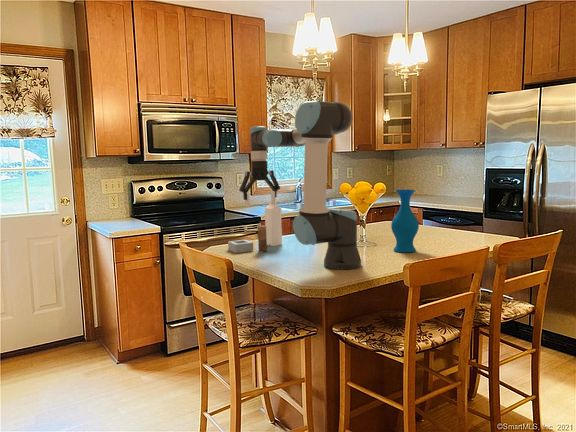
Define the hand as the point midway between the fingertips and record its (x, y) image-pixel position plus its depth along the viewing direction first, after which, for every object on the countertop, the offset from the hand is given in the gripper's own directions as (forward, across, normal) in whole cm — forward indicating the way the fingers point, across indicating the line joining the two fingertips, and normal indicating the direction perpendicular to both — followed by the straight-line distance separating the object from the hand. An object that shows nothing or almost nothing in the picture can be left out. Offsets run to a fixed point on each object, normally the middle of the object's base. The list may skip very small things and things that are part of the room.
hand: (260, 205), depth 221 cm
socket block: (+21, +8, -7) cm, 24 cm away
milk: (+22, -12, -10) cm, 27 cm away
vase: (+22, -54, +39) cm, 70 cm away
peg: (+21, 0, +1) cm, 22 cm away
